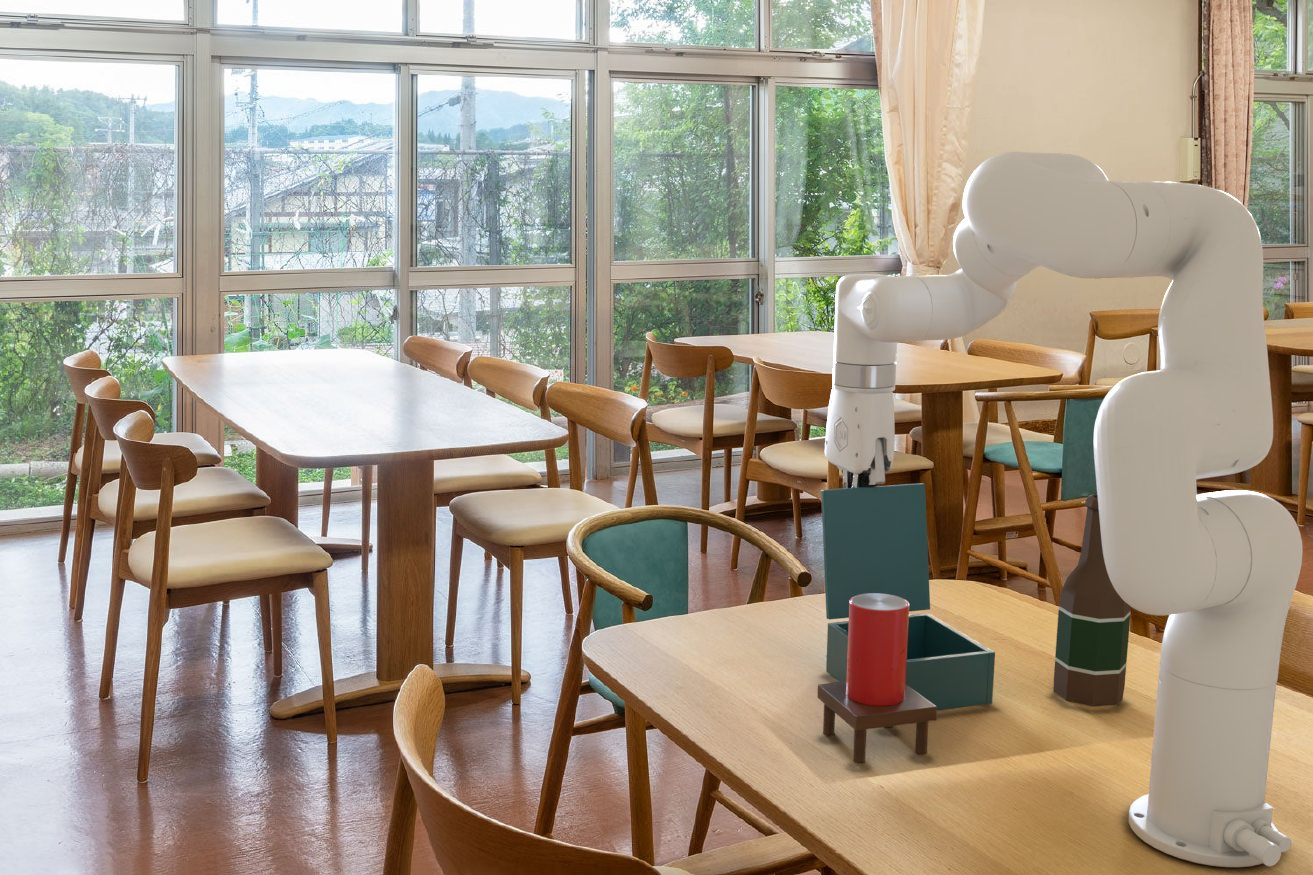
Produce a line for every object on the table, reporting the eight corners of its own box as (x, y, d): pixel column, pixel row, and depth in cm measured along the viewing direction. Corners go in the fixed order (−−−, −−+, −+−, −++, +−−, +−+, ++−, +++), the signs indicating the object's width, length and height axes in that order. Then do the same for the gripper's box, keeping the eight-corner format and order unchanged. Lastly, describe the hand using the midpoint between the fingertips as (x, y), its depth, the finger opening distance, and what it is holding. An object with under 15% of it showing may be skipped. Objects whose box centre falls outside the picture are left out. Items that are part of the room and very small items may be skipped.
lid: (925, 483, 155) (921, 483, 155) (823, 490, 150) (820, 489, 151) (930, 609, 155) (927, 608, 156) (829, 619, 151) (826, 618, 151)
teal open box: (991, 709, 143) (995, 652, 142) (883, 723, 139) (886, 664, 137) (926, 665, 156) (928, 612, 155) (825, 677, 152) (827, 622, 151)
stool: (934, 762, 129) (937, 706, 128) (854, 773, 126) (856, 716, 125) (891, 727, 138) (893, 675, 136) (815, 737, 135) (817, 684, 134)
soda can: (915, 702, 129) (920, 607, 127) (862, 708, 127) (866, 612, 125) (887, 681, 135) (891, 590, 133) (836, 687, 133) (839, 595, 131)
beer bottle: (1128, 716, 141) (1145, 506, 137) (1056, 709, 143) (1070, 502, 139) (1118, 690, 149) (1134, 490, 145) (1049, 684, 150) (1062, 487, 146)
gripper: (809, 369, 160) (805, 511, 163) (864, 386, 146) (858, 541, 149) (863, 368, 162) (857, 507, 165) (922, 384, 148) (915, 536, 151)
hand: (858, 523), depth 157 cm, fingers closed
